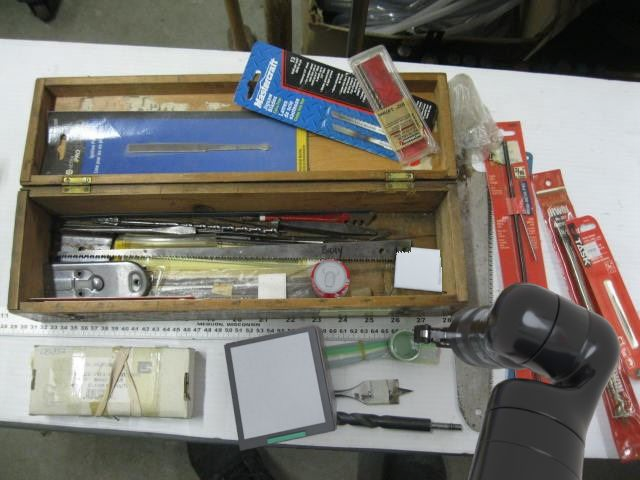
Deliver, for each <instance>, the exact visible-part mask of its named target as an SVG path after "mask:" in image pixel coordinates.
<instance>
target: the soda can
mask: <svg viewBox="0 0 640 480" xmlns="http://www.w3.org/2000/svg"><path fill="white" fill-rule="evenodd" d="M310 284H311V287H312V290H313V291H314V293H315V294H316V296H317V297H318V298H319V297H320V298H319V299H321V298H337V297H342V298H344V297H345V296H346V294H347V293H348V290H349V288H350V284H351V274H350V271H349V269H348V267H347V265H345V264H344V263H343V262H342V261H340V260H338V259H335V258H326V259H323V260H321V261H319V262H318V263H317V264H315V266H314V267H313V269H312V271H311V274H310Z"/></svg>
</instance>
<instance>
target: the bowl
mask: <svg viewBox="0 0 640 480" xmlns="http://www.w3.org/2000/svg"><path fill="white" fill-rule="evenodd" d="M387 348H388V352H389V353H390V354H391V356H392V357H393V358H395V359H397V360H399V361H404V362H410V361H414V360H415V359H417V358H418V357H419V356H420V354H421V353H422V348H423V343H420V344H416V343H415V342H414V330H412V329H410V328H409V329H408V328H403V329H402V328H401V329H397V330H395V331H394V332H392V333H391V334H390V335H389V337H388V340H387Z"/></svg>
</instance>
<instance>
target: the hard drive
mask: <svg viewBox="0 0 640 480" xmlns="http://www.w3.org/2000/svg"><path fill="white" fill-rule="evenodd" d="M410 247H411V252H410V251H409V253H408V252H405V253H404V252H403V251H402V253H401V252H400V251H399V253H398V252H397V253H396V252H395V255H396V254H397V255H396V260H395V259H394V272H393V288H394V289H404V290H414V291H423V292H424V291H425V292H436V293H443V292H442V267H441V257H440V250H441V249H433V248H424V247H423V248H422V247H412V246H410Z"/></svg>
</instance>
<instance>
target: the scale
mask: <svg viewBox="0 0 640 480" xmlns="http://www.w3.org/2000/svg"><path fill="white" fill-rule="evenodd" d="M311 326H312V327H308V326H307V327H308V328H303V327H302V328H303V329H298V328H297V329H298V330H294V329H292V330H293V331H289V330H287V331H288V332H284V331H283V332H284V333H279V332H278V333H279V334H274V333H273V334H274V335H270V334H268V335H269V336H265V335H263V336H264V337H260V336H259V337H260V338H255V337H254V338H255V339H250V338H249V339H250V340H245V339H244V340H245V341H241V340H239V341H240V342H236V341H235V342H236V343H231V342H230V343H231V344H226V343H225V344H223V349H224V355H225V361H226V368H227V374H228V381H229V382H228V383H229V388H230V395H231V402H232V407H233V415H234V422H235V428H236V434H237V440H238V447H239V451H241V452H242V451H246V450H252V449H255V448H261V447H265V446H270V445H275V444H279V443H283V442H284V443H285V442H288V441H294V440H299V439H303V438H307V437H312V436H317V435H322V434H328V433H331V432H335V431H336V429H335V423H334V418H333V413H332V408H331V403H330V398H329V393H328V388H327V383H326V378H325V373H324V368H323V362H322V357H321V352H320V347H319V342H318V337H317V332H316V327H315V326H313V325H311Z"/></svg>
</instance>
